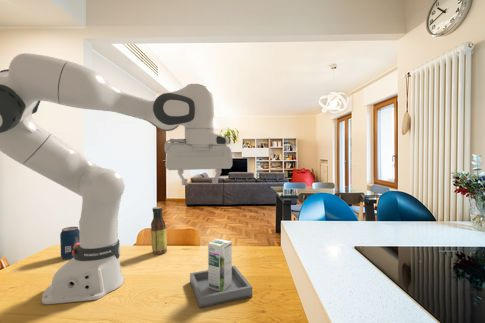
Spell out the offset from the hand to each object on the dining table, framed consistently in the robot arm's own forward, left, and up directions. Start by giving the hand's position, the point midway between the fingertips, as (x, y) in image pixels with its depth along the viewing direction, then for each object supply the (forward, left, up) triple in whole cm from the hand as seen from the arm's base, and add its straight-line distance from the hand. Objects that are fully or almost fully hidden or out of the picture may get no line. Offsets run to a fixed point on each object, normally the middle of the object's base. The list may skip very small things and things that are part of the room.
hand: (200, 184), depth 80 cm
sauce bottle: (-10, +39, -34) cm, 53 cm away
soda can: (-45, +48, -34) cm, 74 cm away
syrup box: (+6, 0, -34) cm, 34 cm away
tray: (+6, 0, -34) cm, 35 cm away
